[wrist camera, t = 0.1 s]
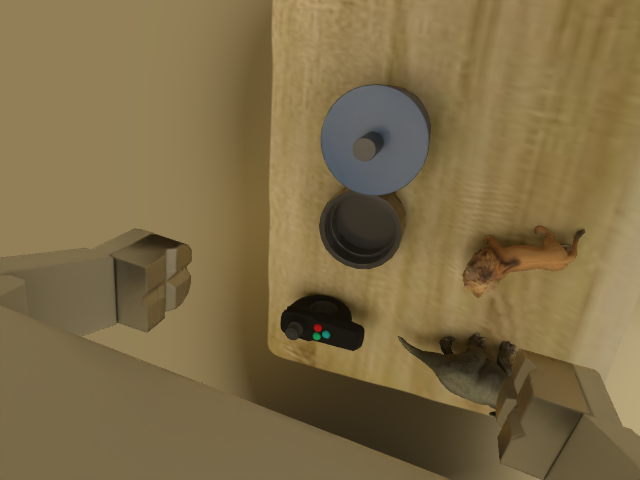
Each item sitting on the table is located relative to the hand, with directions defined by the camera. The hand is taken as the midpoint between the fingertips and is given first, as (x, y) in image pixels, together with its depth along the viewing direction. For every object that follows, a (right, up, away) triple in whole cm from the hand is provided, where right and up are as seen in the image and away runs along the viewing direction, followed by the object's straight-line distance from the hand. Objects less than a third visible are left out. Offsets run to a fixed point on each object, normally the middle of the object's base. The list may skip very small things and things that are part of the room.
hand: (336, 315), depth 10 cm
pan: (+6, +5, +50) cm, 51 cm away
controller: (+2, -8, +57) cm, 58 cm away
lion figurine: (+25, +1, +46) cm, 52 cm away
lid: (+6, +13, +37) cm, 39 cm away
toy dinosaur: (+23, -14, +53) cm, 59 cm away
